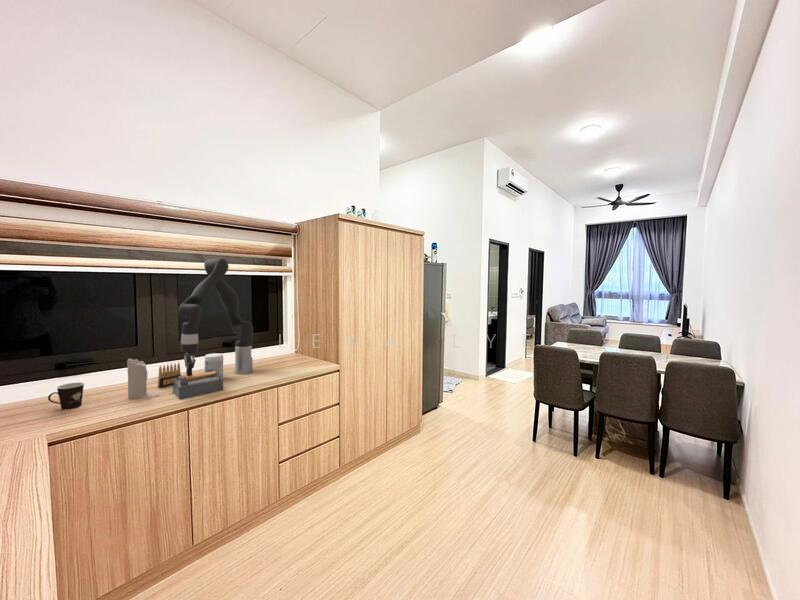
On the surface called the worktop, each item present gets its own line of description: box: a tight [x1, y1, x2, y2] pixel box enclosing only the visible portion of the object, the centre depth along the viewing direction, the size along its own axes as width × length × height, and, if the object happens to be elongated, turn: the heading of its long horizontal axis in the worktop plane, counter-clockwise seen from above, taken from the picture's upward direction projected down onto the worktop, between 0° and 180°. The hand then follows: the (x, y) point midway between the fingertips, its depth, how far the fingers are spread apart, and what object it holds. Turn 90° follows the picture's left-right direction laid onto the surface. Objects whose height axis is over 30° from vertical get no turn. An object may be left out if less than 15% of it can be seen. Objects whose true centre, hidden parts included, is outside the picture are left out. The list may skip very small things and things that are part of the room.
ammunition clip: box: [157, 362, 182, 389], centre depth 180 cm, size 11×2×12 cm, turn 145°
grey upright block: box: [126, 358, 163, 400], centre depth 164 cm, size 7×14×20 cm, turn 119°
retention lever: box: [183, 371, 216, 379], centre depth 173 cm, size 14×4×2 cm, turn 135°
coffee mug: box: [47, 381, 85, 411], centre depth 147 cm, size 12×9×10 cm
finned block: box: [172, 370, 224, 400], centre depth 173 cm, size 20×14×9 cm
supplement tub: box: [204, 352, 224, 379], centre depth 192 cm, size 10×10×15 cm
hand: (189, 375), depth 169 cm, fingers closed
